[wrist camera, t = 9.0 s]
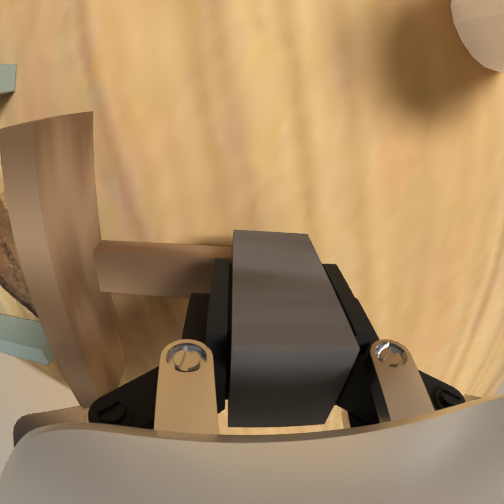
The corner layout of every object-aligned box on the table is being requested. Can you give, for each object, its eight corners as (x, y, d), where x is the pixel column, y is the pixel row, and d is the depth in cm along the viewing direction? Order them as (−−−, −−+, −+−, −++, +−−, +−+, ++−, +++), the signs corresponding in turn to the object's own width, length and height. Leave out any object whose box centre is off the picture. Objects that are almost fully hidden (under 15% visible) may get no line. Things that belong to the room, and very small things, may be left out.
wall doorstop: (280, 369, 16) (295, 473, 10) (103, 356, 15) (70, 450, 10) (324, 117, 10) (420, 142, 4) (62, 115, 9) (-60, 148, 4)
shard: (64, 318, 17) (54, 335, 16) (-10, 303, 17) (-21, 317, 15) (33, 157, 12) (14, 166, 11) (-43, 167, 12) (-61, 175, 10)
